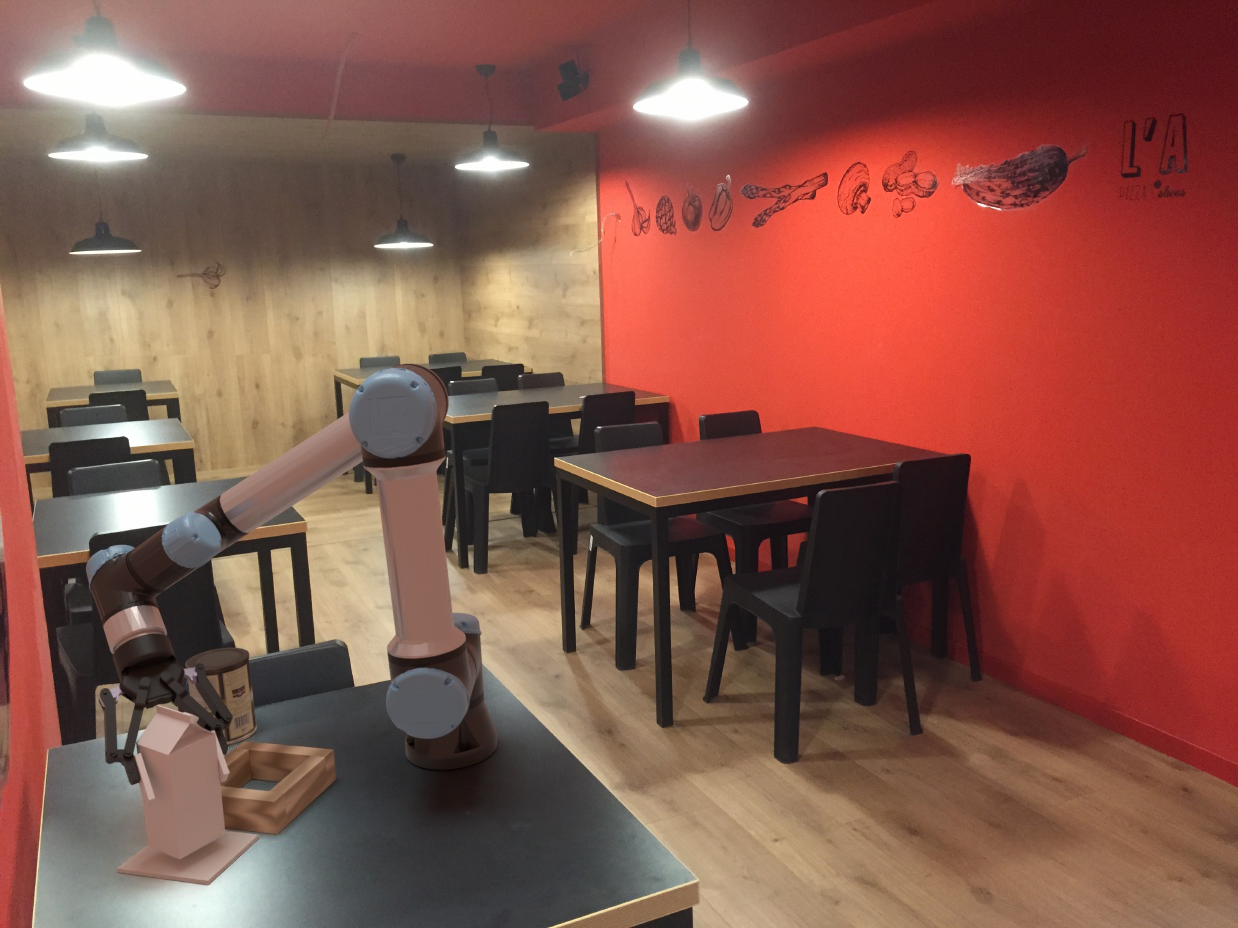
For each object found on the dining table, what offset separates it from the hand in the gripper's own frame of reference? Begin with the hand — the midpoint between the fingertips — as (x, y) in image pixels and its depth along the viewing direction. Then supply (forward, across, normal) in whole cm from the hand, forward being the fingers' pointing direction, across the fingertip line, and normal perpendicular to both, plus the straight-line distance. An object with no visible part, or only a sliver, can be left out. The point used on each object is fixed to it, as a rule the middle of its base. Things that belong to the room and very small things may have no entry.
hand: (188, 789), depth 129 cm
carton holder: (0, -13, -16) cm, 20 cm away
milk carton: (+4, 0, -9) cm, 10 cm away
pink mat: (+6, 0, -10) cm, 11 cm away
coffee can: (-19, -17, -35) cm, 43 cm away
